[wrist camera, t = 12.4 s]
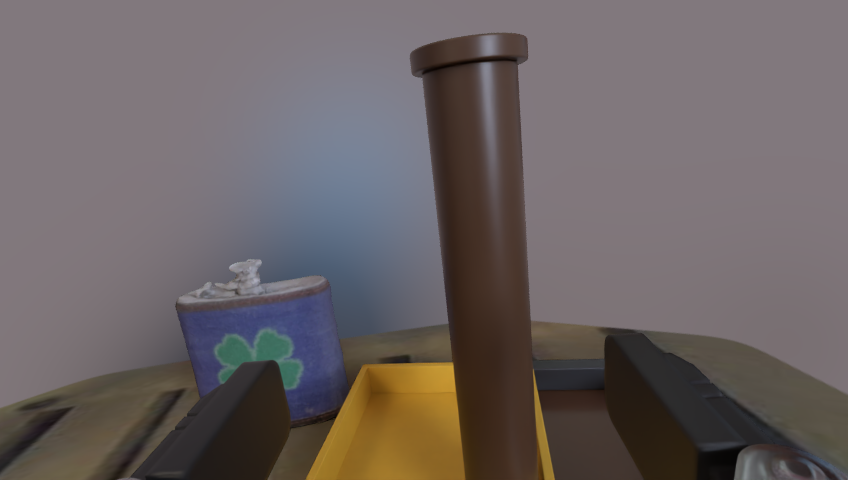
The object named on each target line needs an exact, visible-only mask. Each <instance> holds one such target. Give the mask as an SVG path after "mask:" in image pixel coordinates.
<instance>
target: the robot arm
mask: <svg viewBox="0 0 848 480" xmlns="http://www.w3.org/2000/svg"><path fill="white" fill-rule="evenodd" d="M604 352H605V402H606V407H607V411H608V414H609V417H610V419H611V421H612V423H613V425H614V427H615V429H616V430H617V432H618V434H619V436H620V438H621V439H622V441H623V443H624V445H625V447H626V448H627V450H628V452H629V454H630V456H631V457H632V459H633V461H634V463H635V464H636V466H637V468H638V470H639V472H640V473H641V475H642V477H643V479H644V480H848V476H847V475H846V474H844V473H843V472H841V471H840V470H839V469H837V468H836V467H834V466H833V465H831V464H830V463H828V462H826V461H824V460H822V459H820V458H818V457H816V456H814V455H812V454H809V453H807V452H804V451H801V450H798V449H795V448H791V447H788V446H783V445H777V444H775V443H774V442H773V441H772V440H771V439H770V438H769V437H768V436H767V435H766V434H765V433H764V432H763V431H761V430H760V429H759V428H758V427H757V426H756V425H755V424H754V423H753V422H752V421H751V420H750V419H749V418H748V417H747V416H746V415H745V414H744V413H743V412H742V411H741V410H740V409H739V408H738V407H737V406H736V405H735V404H734V403H733V402H731V401H730V400H729V399H728V398H727V397H724V396H723V393H722V392H721V391H720V390H719V389H718V388H717V387H716V386H715V385H714V384H713V383H712V384H710V380H709V379H708V378H707V377H706V376H705V375H704V374H702V373H701V372H700V371H699V370H698V369H697V368H696V367H695V366H694V365H693V364H691V363H689V362H687V361H685V360H683V359H681V358H680V357H678V356H676V355H674V354H672V353H661V352H660V351H659V350H658V349H657V348H656V347H655V346H654V345H653V343H652V342H651V341H650V340H649V339H648V338H647V337H646V336H645V335H644V334H642V333H632V334H619V335H608V336H607V337H606V339H605V347H604ZM290 423H291V418H290V411H289V406H288V402H287V398H286V393H285V389H284V385H283V380H282V376H281V372H280V368H279V365H278V363H277V362H276V361H275V360H265V361H251V362H243V363H242V364H241V365H240V366H239V367H238V368H237V369H236V370H235V371H234V373H233V374H232V375H231V376H230V377H229V378H228V379H227V381H226V382H225V383H224V384H221V385H219V386H218V387H216V388H215V389H213V390H212V391H211V392H209V393H208V394H206V395H205V396H203V397H202V398H201V399H200V400H199V401H198V402H197V403H196V404H195V406H194V407H193V408H192V409H191V410H190V411H189V412H188V413H187V417H184V418H183V419H182V420H181V421H180V422H179V423H178V424H177V426H176V427H175V430H172V431H171V432H170V433H169V434H168V436H167V437H166V438H165V439H164V440H163V441H162V442H161V443H160V444H159V446H158V447H157V448H156V449H155V450H154V451H153V452H152V453H151V454H150V456H149V457H148V458H147V459H146V460H145V461H144V462H143V463H142V464H141V466H140V467H139V468H138V469H137V470H136V471H135V472H134V473H133V474H132V476H131V477H130V478H123V479H118V480H267V479H268V477H269V475H270V473H271V471H272V469H273V467H274V465H275V463H276V461H277V459H278V457H279V455H280V453H281V451H282V449H283V447H284V445H285V443H286V441H287V439H288V436H289V431H290Z"/></svg>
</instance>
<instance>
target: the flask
mask: <svg viewBox="0 0 848 480" xmlns="http://www.w3.org/2000/svg"><path fill="white" fill-rule="evenodd" d="M261 264H262V263H261V261H260V260H259V259H258V260H253V259H249V260H247V262H238V263H236V264H233V265H231V266H230V267H229V270H230V271H233V272H235V273H237V277H236V278H235V279H233V280H232V281H231V282H228V284H222V283H215V285H216V286H217V287H214V286H213V287H211V286H212V282H208V283H206V284H205V285H204V286H203V287H202V288H201V289H198V290H197V291H192V292H189V293H187V294H185V295H182V296H181V297H180V298H178V299H177V302H176V310H177V313H178V317H179V321H180V324H181V328H182V331H183V335H184V338H185V341H186V346H187V350H188V353H189V356H190V359H191V363H192V367H193V370H194V374H195V379H196V383H197V387H198V391H199V396H200V399H201V398H202V397H203V396H205V395H206V394H208V393H209V392H211V391H212V390H213V389H215V388H216V387H218V386H219V385H221V384H224V383H225V382H226V381H227V379H228V378H229V377H230V376H231V375H232V374H233V373H234V371H235V370H236V369H237V368H238V367H239V366H240V365H241V364H242V363H243V362H251V361H265V360H275V361H276V362H277V363H278V365H279V368H280V372H281V376H282V380H283V385H284V389H285V393H286V398H287V402H288V406H289V411H290V418H291V423H290V428H293V427H297V426H298V427H299V426H300V427H301V426H303V425H309V424H310V423H311V424H313V423H315V422H318V423H319V422H323V421H326V420H329V419H330V418H333V417H335V416H336V417H337V416H338V414H339V412H340V410H341V408H342V406H343V404H344V402H345V400H346V398H347V396H348V394H349V392H350V391H349V387H348V383H347V378H346V372H345V368H344V363H343V353H342V350H341V347H340V341H339V338H338V333H337V324H336V320H335V316H334V311H333V304H332V299H331V287H330V284H329V282H328V280H327V279H326V278H325V277H322V276H321V275H316V276H308V277H303V278H299V279H292V280H286V281H278V282H274V283H266V284H260V281H261V280H260V277H259V273H258V272H257V269H258V268H259V267H260V266H261Z"/></svg>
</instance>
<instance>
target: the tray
mask: <svg viewBox="0 0 848 480" xmlns="http://www.w3.org/2000/svg"><path fill="white" fill-rule="evenodd" d="M527 59H528V44H527V38H526V37H525V36H524V35H520V34H516V33H487V34H478V35H469V36H463V37H457V38H451V39H446V40H442V41H438V42H434V43H430V44H427V45H424V46H422V47H419V48H417V49H415V50H414V51H412V52H411V54H410V62H411V71H412V75H413V76H415V77H421V78H423V88H424V97H425V107H426V115H427V125H428V134H429V143H430V153H431V162H432V172H433V180H434V191H435V200H436V209H437V219H438V228H439V237H440V247H441V255H442V265H443V274H444V284H445V293H446V303H447V312H448V321H449V331H450V340H451V349H452V359H453V362H447V363H402V364H363V366H362V368H361V370H360V372H359V374H358V376H357V378H356V380H355V382H354V384H353V386H352V388H351V390H350V392H349V394H348V396H347V398H346V400H345V402H344V404H343V406H342V408H341V410H340V412H339V414H338V416H337V418H336V420H335V422H334V424H333V426H332V428H331V430H330V432H329V434H328V436H327V438H326V440H325V442H324V444H323V446H322V448H321V450H320V452H319V454H318V456H317V458H316V460H315V462H314V464H313V466H312V468H311V470H310V472H309V474H308V476H307V478H306V480H555V478H554V473H553V468H552V463H551V458H550V453H549V447H548V442H547V437H546V432H545V427H544V422H543V417H542V411H541V406H540V401H539V396H538V391H537V386H536V380H535V375H534V370H533V359H532V339H531V320H530V301H529V282H528V261H527V242H526V222H525V204H524V203H525V201H524V181H523V163H522V144H521V143H522V142H521V122H520V104H519V103H520V102H519V83H518V65H519V64H521V63H523V62H525V61H526V60H527Z"/></svg>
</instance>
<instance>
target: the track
mask: <svg viewBox="0 0 848 480" xmlns="http://www.w3.org/2000/svg"><path fill="white" fill-rule="evenodd" d="M444 363H447V362H444ZM399 364H402V363H399ZM533 370H534V375H535V380H536V386H537V391H538V396H539V401H540V406H541V411H542V417H543V422H544V427H545V432H546V437H547V442H548V447H549V453H550V458H551V463H552V468H553V473H554V478H555V480H644V479H643V477H642V475H641V473H640V472H639V470H638V468H637V466H636V464H635V463H634V461H633V459H632V457H631V456H630V454H629V452H628V450H627V448H626V447H625V445H624V443H623V441H622V439H621V438H620V436H619V434H618V432H617V430H616V429H615V427H614V425H613V423H612V421H611V419H610V417H609V414H608V411H607V407H606V402H605V359H579V360H534V361H533Z"/></svg>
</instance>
